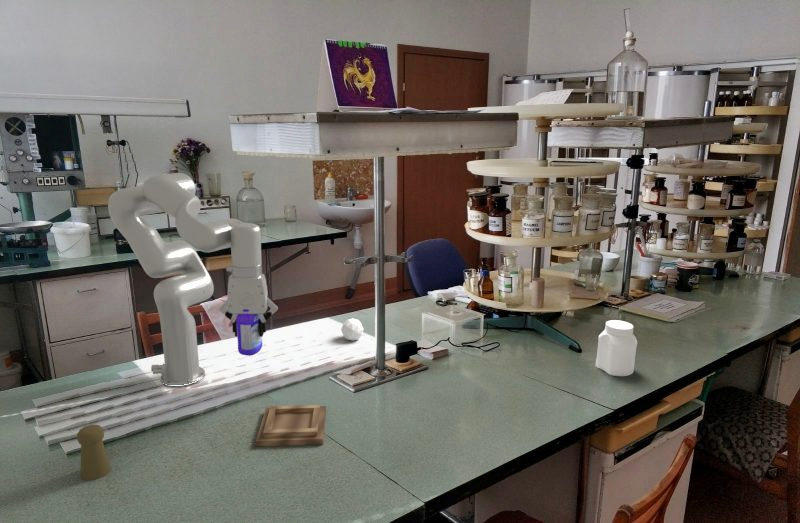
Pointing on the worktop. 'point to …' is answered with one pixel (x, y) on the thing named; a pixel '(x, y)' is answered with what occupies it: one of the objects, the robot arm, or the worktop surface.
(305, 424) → the walnut base
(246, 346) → the bottle
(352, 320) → the geometric ball
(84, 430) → the tan game pawn
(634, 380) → the worktop surface
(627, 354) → the jar
